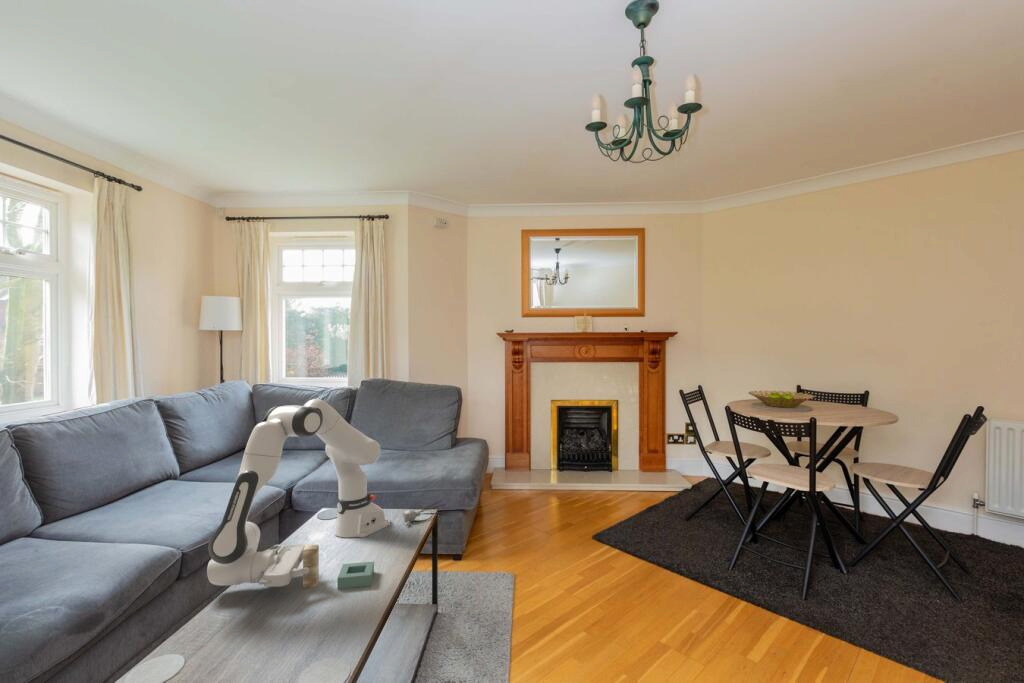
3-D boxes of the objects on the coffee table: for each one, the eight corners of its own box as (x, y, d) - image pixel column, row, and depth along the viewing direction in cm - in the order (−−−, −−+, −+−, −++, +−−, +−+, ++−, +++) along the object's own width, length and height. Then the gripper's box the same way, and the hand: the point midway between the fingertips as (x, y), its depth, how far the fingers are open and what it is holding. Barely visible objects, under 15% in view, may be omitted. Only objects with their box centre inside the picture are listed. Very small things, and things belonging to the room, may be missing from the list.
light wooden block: (302, 587, 141) (302, 549, 141) (305, 582, 144) (305, 545, 144) (316, 586, 142) (316, 548, 142) (318, 581, 145) (318, 544, 145)
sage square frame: (337, 589, 140) (337, 578, 140) (342, 574, 149) (342, 564, 149) (370, 585, 142) (370, 575, 142) (373, 571, 151) (373, 561, 151)
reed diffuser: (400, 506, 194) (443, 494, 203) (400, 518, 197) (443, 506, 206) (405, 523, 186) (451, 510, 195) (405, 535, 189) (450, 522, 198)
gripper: (253, 573, 130) (304, 568, 133) (277, 542, 150) (320, 539, 153) (253, 594, 130) (304, 589, 133) (277, 561, 150) (320, 557, 153)
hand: (313, 562), depth 143 cm, fingers open, 8 cm apart
